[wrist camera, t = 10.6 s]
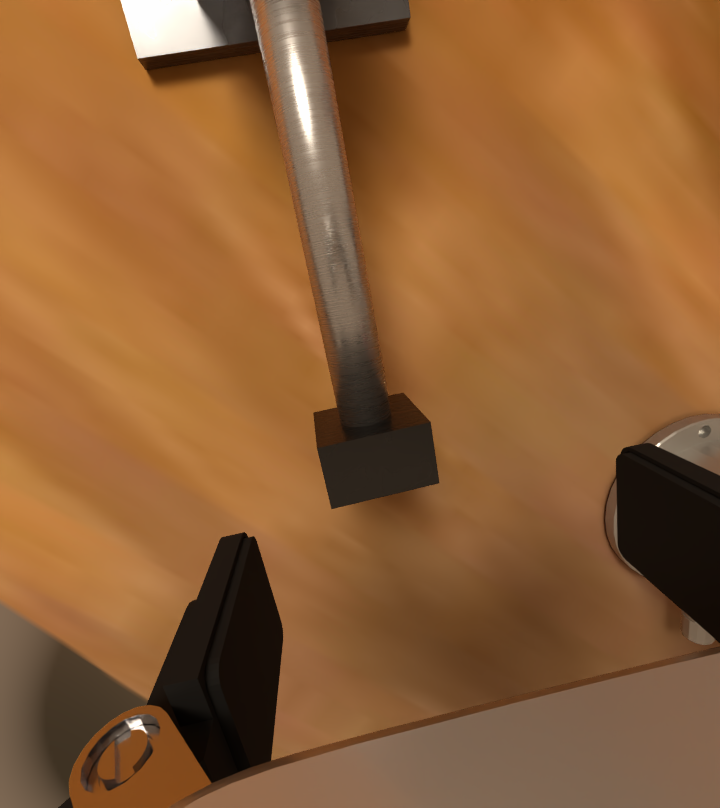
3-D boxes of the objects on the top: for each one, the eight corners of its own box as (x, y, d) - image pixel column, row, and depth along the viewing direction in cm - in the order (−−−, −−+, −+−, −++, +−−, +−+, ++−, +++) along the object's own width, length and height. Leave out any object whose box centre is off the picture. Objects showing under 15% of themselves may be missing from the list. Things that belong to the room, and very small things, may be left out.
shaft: (411, 442, 19) (439, 483, 15) (325, 462, 19) (331, 509, 15) (313, -161, 13) (319, -351, 9) (182, -147, 12) (130, -335, 9)
